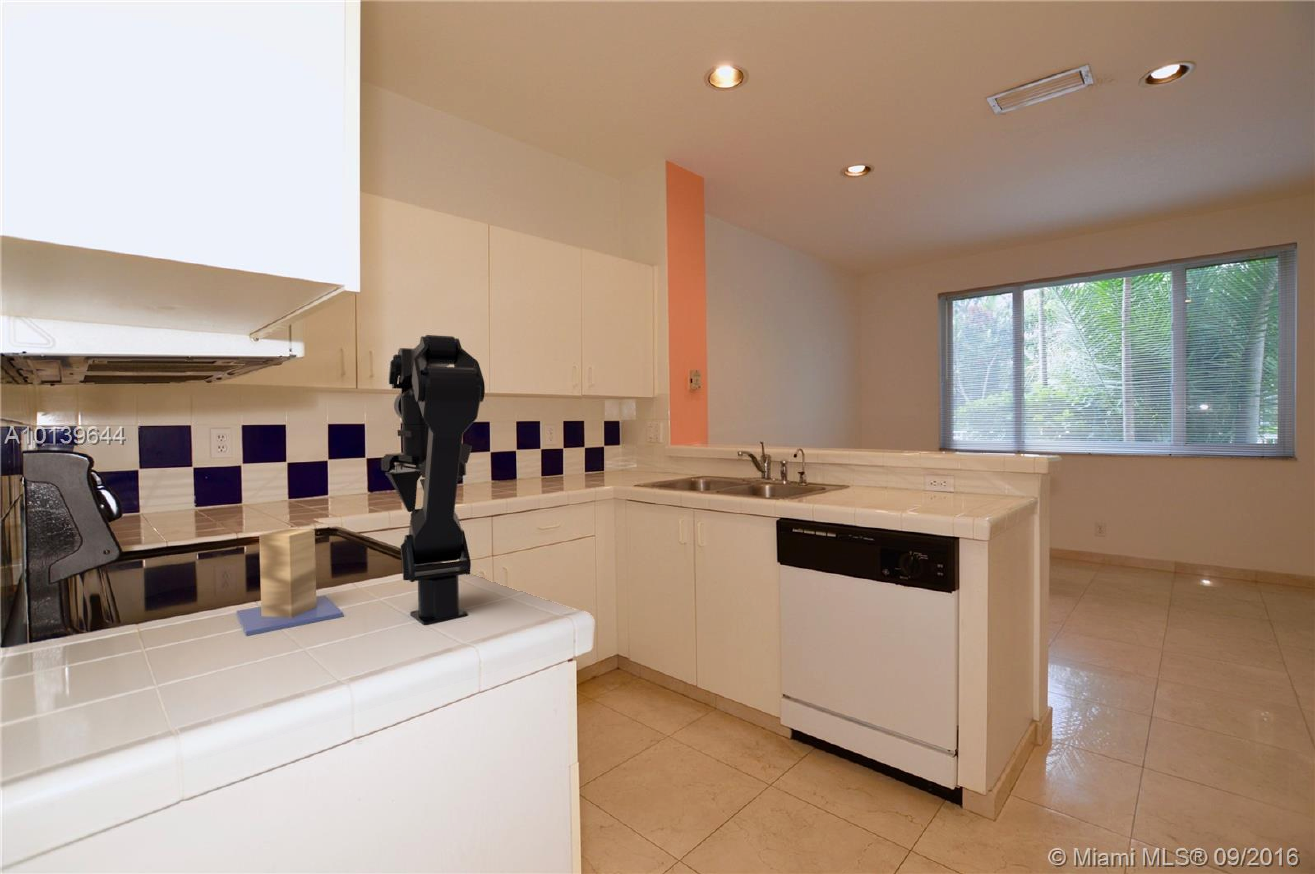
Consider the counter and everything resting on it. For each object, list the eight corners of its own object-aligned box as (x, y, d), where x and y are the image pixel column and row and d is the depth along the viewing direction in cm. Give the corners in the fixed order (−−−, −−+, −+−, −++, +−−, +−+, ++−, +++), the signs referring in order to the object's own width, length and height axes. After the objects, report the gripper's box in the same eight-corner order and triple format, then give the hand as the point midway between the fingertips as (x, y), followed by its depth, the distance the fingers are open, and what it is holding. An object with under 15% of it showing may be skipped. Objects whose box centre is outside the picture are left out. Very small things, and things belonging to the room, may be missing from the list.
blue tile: (343, 616, 89) (343, 612, 89) (246, 635, 82) (246, 631, 82) (325, 598, 98) (325, 595, 98) (236, 614, 91) (236, 610, 91)
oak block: (316, 607, 92) (314, 529, 92) (291, 617, 87) (289, 535, 87) (287, 605, 93) (285, 528, 93) (261, 616, 88) (259, 535, 88)
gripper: (493, 423, 101) (495, 514, 102) (437, 420, 113) (440, 502, 114) (430, 426, 92) (433, 526, 93) (378, 423, 105) (381, 511, 106)
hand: (423, 515), depth 102 cm, fingers open, 9 cm apart
